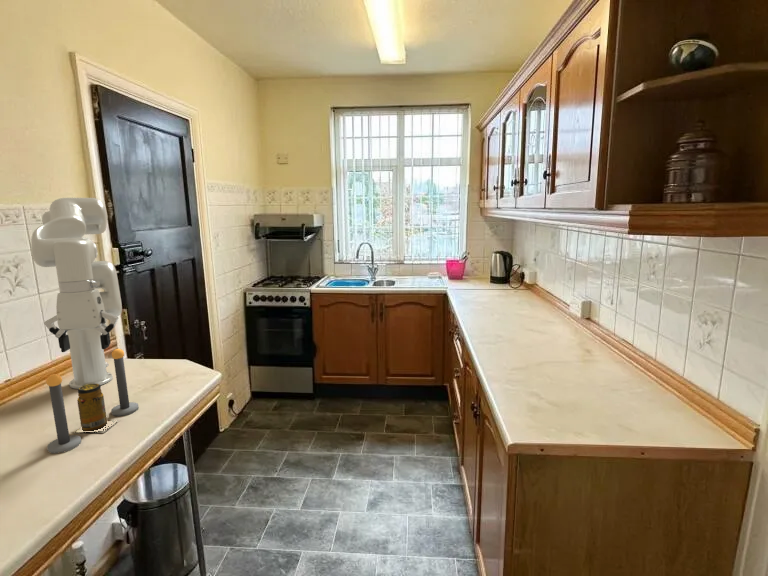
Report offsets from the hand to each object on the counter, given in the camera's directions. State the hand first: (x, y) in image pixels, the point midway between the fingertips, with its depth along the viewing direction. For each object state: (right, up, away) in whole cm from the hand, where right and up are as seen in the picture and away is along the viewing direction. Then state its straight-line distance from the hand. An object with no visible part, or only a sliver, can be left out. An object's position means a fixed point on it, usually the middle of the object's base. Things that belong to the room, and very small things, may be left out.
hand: (86, 349), depth 116 cm
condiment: (0, -23, +5) cm, 23 cm away
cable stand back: (+2, -21, +14) cm, 25 cm away
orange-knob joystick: (-2, -24, -5) cm, 25 cm away
